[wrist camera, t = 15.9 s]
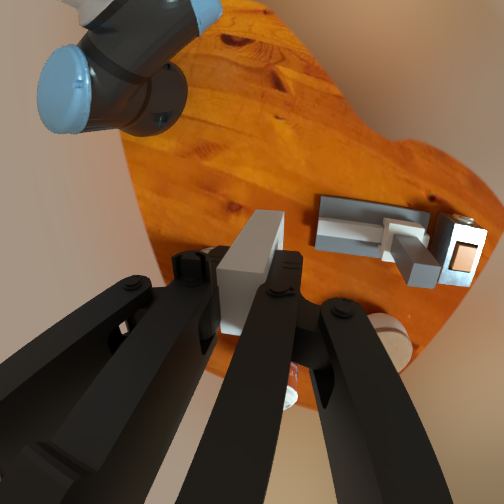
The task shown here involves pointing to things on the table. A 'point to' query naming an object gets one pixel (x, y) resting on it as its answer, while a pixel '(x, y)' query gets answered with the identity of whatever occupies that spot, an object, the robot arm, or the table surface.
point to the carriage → (409, 253)
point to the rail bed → (365, 216)
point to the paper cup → (291, 386)
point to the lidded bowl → (392, 338)
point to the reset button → (463, 256)
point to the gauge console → (444, 242)
